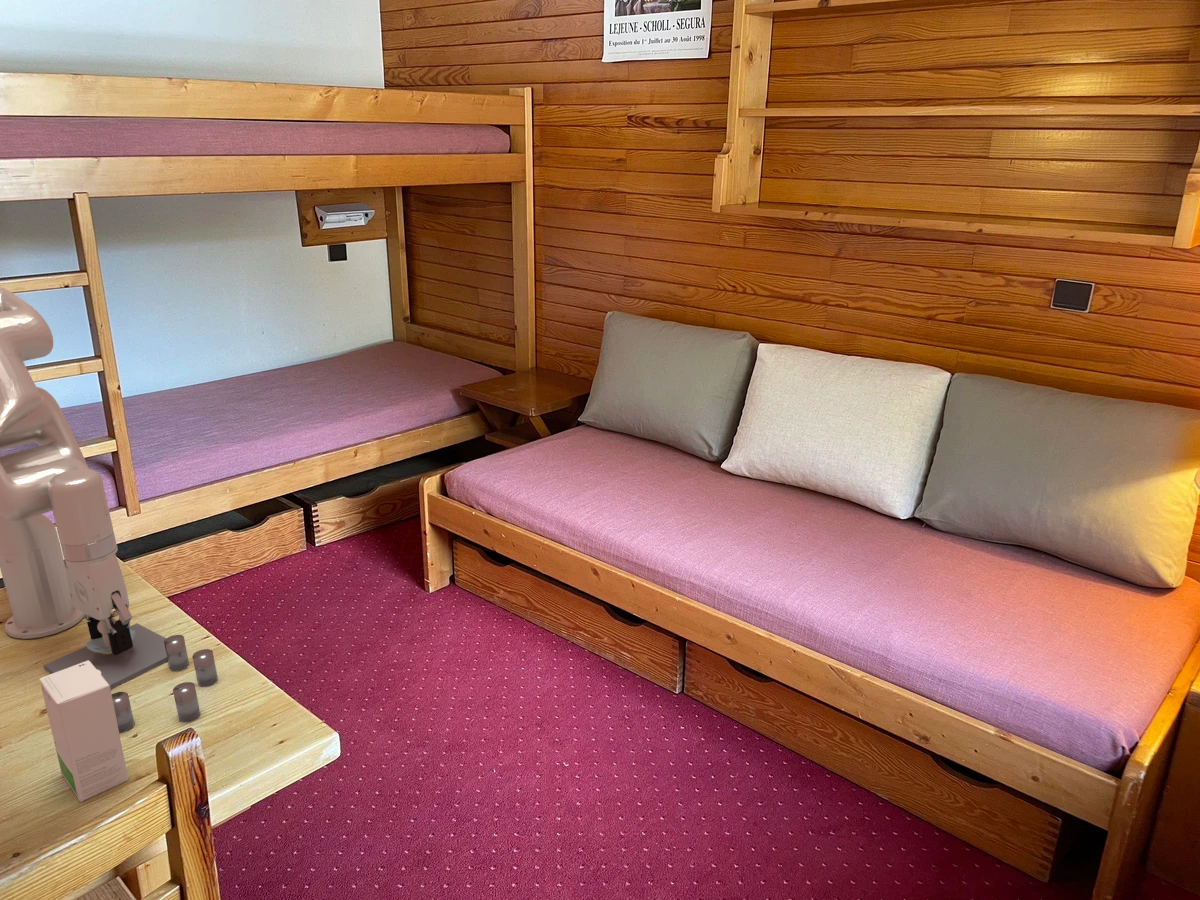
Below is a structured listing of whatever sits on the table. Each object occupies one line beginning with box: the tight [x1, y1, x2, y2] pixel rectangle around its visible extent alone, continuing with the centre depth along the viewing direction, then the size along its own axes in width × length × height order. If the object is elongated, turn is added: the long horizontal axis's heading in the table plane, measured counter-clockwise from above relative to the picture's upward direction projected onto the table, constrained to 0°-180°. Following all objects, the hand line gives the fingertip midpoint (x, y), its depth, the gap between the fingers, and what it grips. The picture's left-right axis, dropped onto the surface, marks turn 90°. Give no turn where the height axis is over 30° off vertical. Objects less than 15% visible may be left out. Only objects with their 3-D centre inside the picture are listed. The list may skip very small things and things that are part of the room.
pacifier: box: [85, 617, 136, 654], centre depth 151 cm, size 7×6×6 cm
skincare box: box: [38, 660, 129, 803], centre depth 122 cm, size 8×7×16 cm
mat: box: [42, 622, 168, 690], centre depth 152 cm, size 15×16×1 cm
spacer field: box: [111, 634, 219, 734], centre depth 140 cm, size 17×17×5 cm
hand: (112, 644), depth 151 cm, fingers closed on pacifier, 5 cm apart
